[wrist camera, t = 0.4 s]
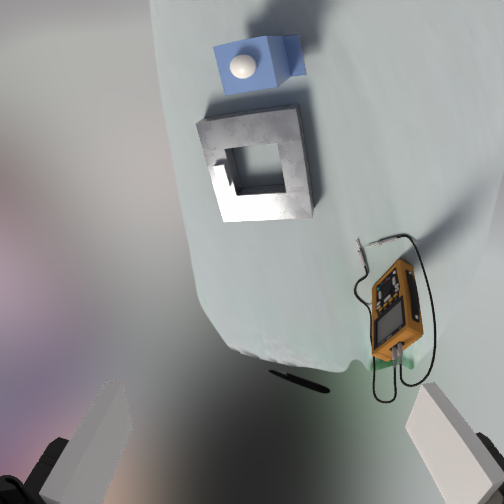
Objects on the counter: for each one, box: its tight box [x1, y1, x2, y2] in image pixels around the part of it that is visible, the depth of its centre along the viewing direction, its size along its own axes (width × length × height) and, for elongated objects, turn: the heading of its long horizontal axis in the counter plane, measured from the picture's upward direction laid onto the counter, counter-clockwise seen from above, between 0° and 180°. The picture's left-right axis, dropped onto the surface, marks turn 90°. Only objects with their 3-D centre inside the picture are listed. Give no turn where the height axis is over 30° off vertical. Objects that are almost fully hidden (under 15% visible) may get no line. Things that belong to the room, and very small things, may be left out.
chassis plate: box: [196, 104, 314, 222], centre depth 38 cm, size 14×12×3 cm
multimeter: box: [354, 235, 436, 403], centre depth 37 cm, size 15×10×20 cm
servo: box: [213, 34, 306, 96], centre depth 26 cm, size 4×8×12 cm, turn 102°
